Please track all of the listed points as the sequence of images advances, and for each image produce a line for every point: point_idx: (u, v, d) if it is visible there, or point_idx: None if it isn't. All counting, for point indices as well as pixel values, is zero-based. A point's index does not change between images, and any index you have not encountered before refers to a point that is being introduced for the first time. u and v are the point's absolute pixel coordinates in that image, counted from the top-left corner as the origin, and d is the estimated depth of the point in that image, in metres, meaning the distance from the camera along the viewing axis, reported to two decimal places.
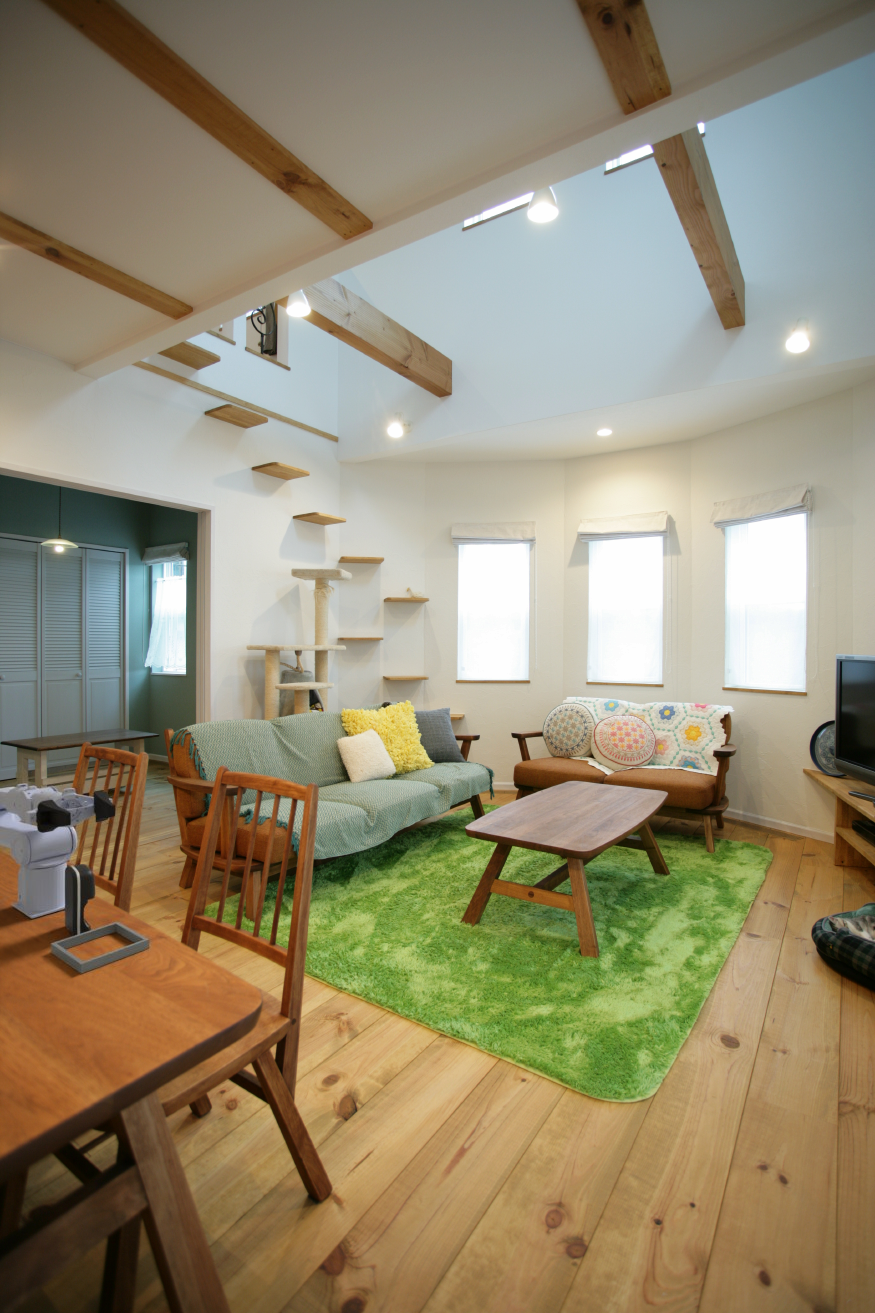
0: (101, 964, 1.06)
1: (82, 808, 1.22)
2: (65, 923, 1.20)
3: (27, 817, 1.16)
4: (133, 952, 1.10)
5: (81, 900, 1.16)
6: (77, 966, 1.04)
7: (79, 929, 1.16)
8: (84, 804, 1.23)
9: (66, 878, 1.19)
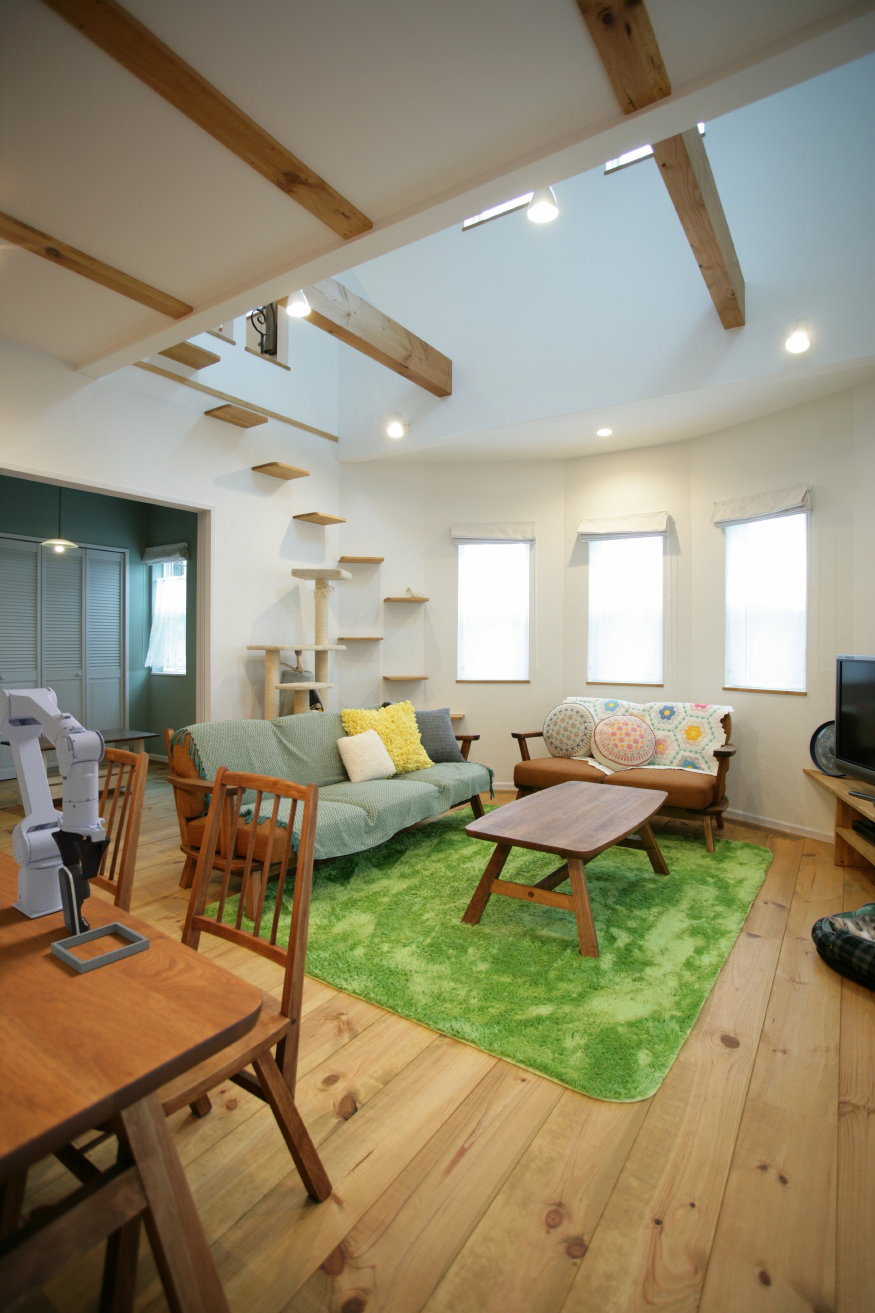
0: (101, 964, 1.06)
1: None
2: None
3: (100, 835, 1.15)
4: (133, 952, 1.10)
5: (76, 900, 1.16)
6: (77, 966, 1.04)
7: (78, 928, 1.16)
8: None
9: (60, 879, 1.18)
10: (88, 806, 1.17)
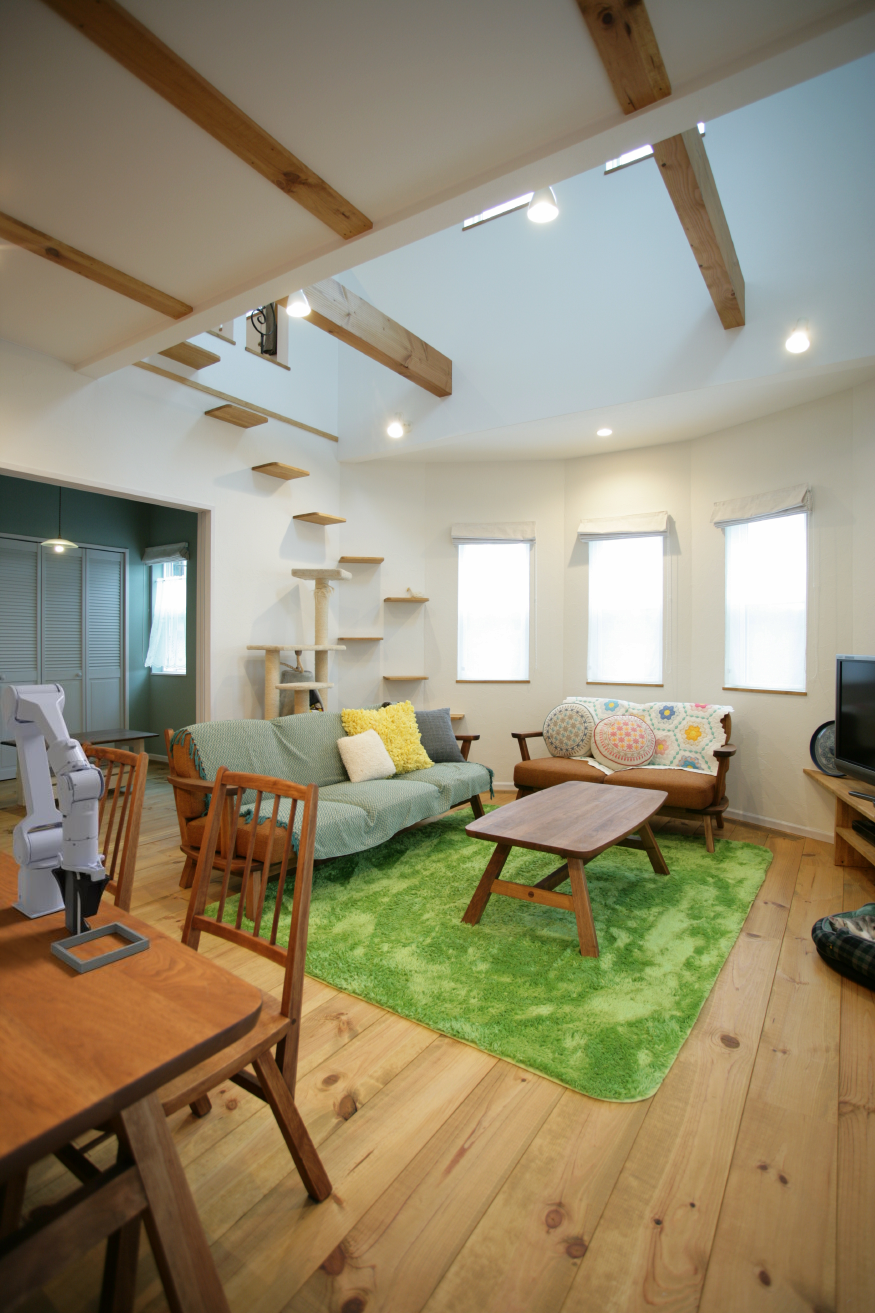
0: (101, 964, 1.06)
1: None
2: (65, 923, 1.20)
3: (100, 874, 1.15)
4: (133, 952, 1.10)
5: None
6: (77, 966, 1.04)
7: (79, 929, 1.16)
8: None
9: (66, 878, 1.19)
10: (88, 844, 1.17)
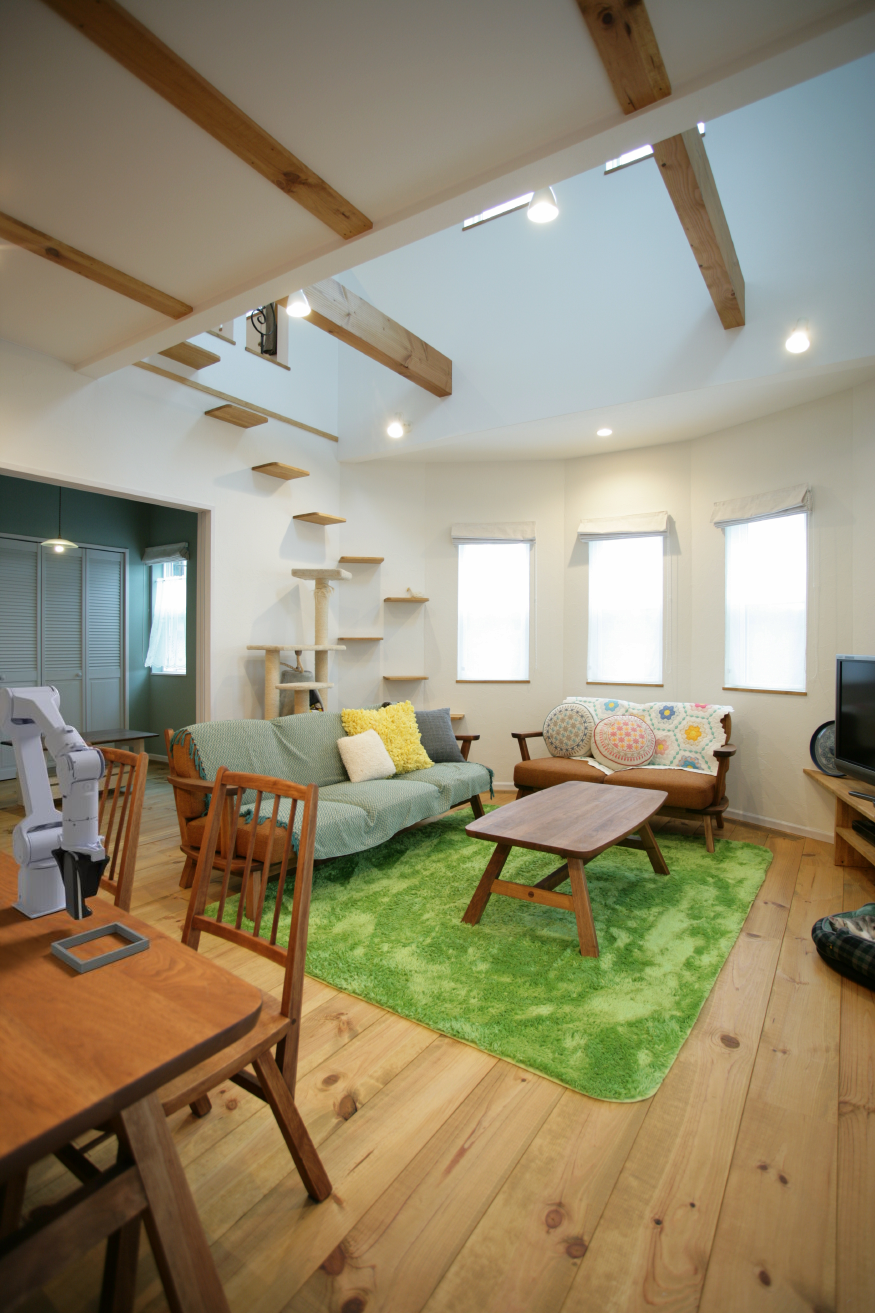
0: (101, 964, 1.06)
1: None
2: (66, 909, 1.20)
3: (100, 854, 1.15)
4: (133, 952, 1.10)
5: None
6: (77, 966, 1.04)
7: (80, 913, 1.16)
8: None
9: (65, 864, 1.19)
10: (88, 825, 1.17)
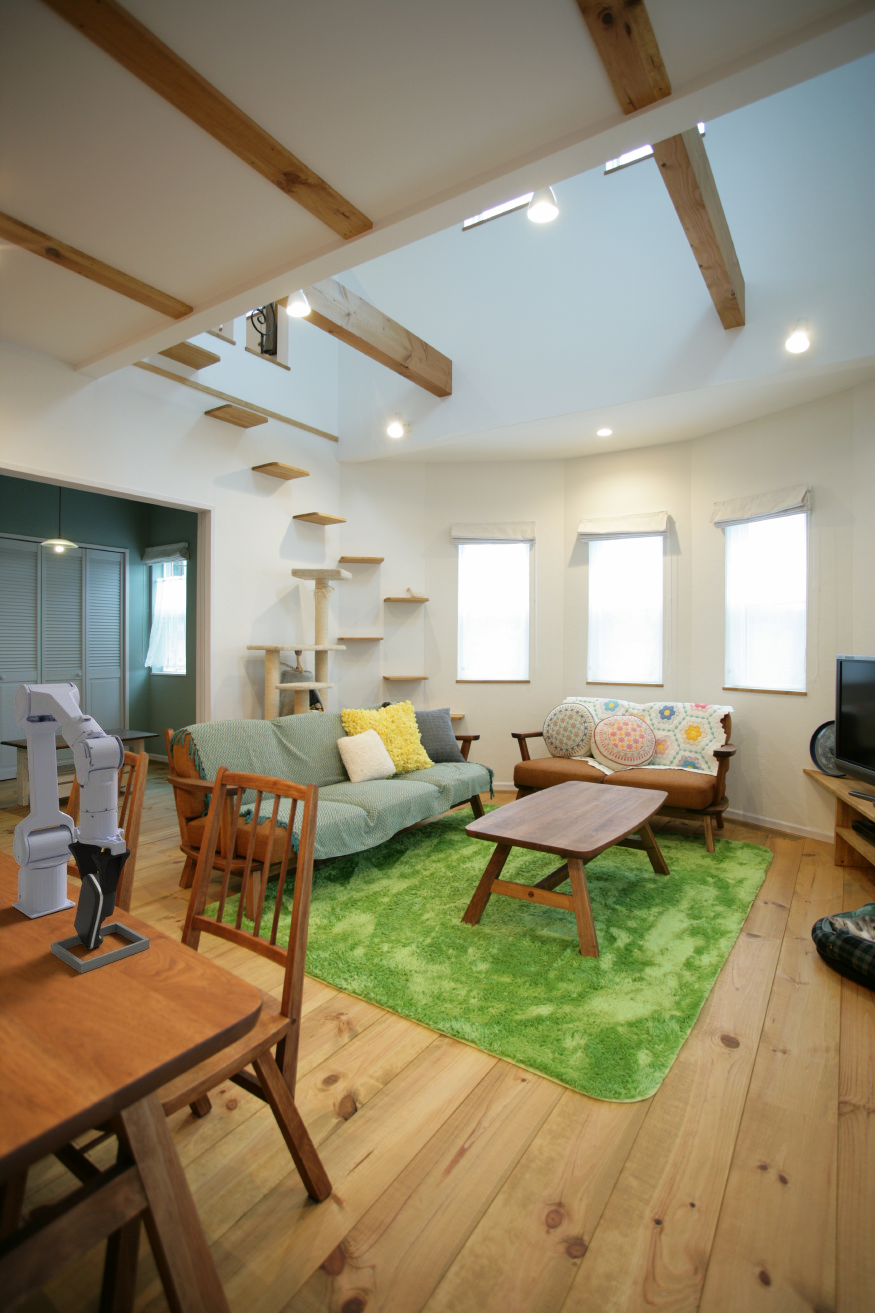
0: (101, 964, 1.06)
1: None
2: (74, 926, 1.14)
3: (120, 848, 1.07)
4: (133, 952, 1.10)
5: (100, 918, 1.10)
6: (77, 966, 1.04)
7: (92, 943, 1.11)
8: None
9: (84, 887, 1.12)
10: (107, 816, 1.10)
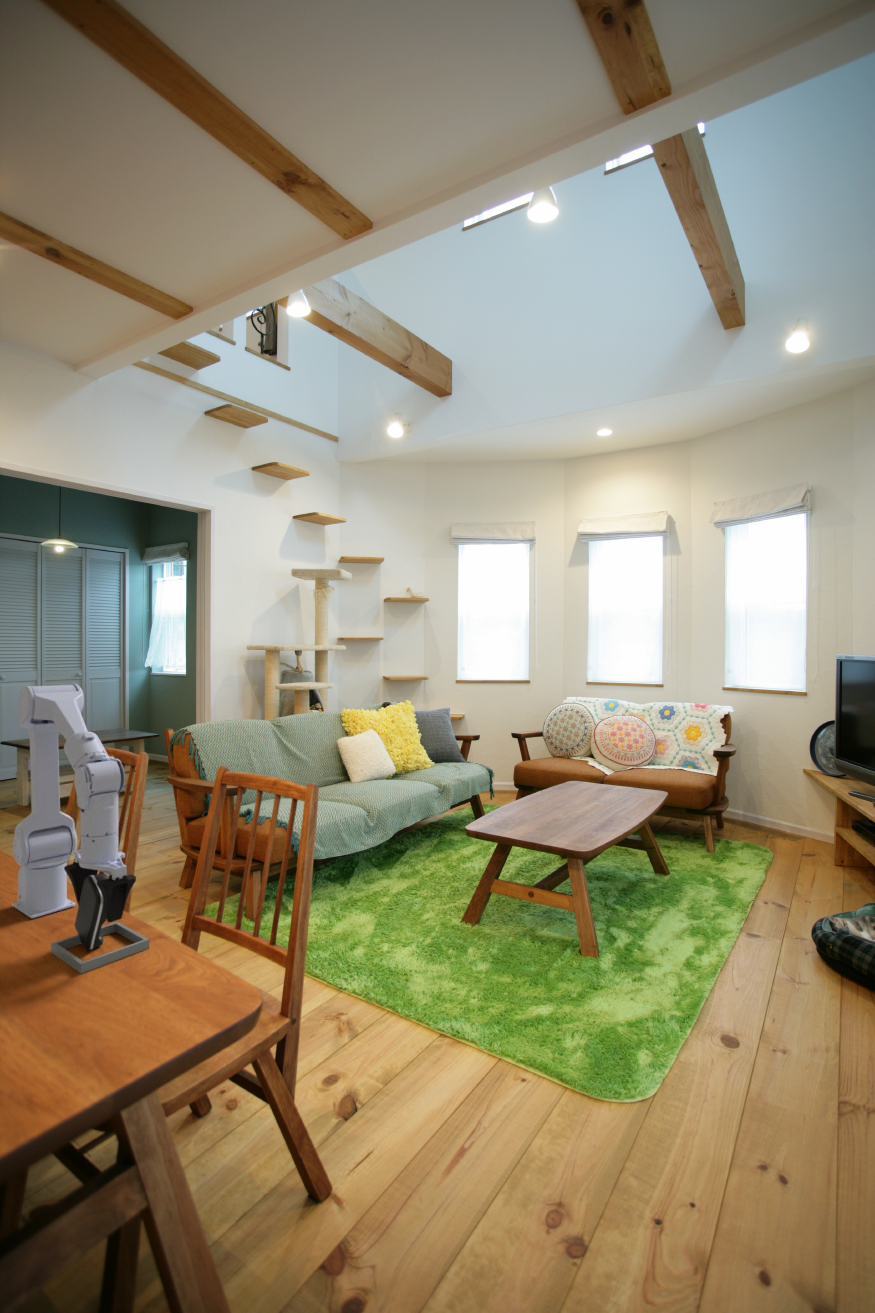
0: (101, 964, 1.06)
1: None
2: (75, 926, 1.14)
3: (121, 873, 1.07)
4: (133, 952, 1.10)
5: (100, 919, 1.10)
6: (77, 966, 1.04)
7: (92, 944, 1.11)
8: None
9: (85, 888, 1.11)
10: (108, 841, 1.09)
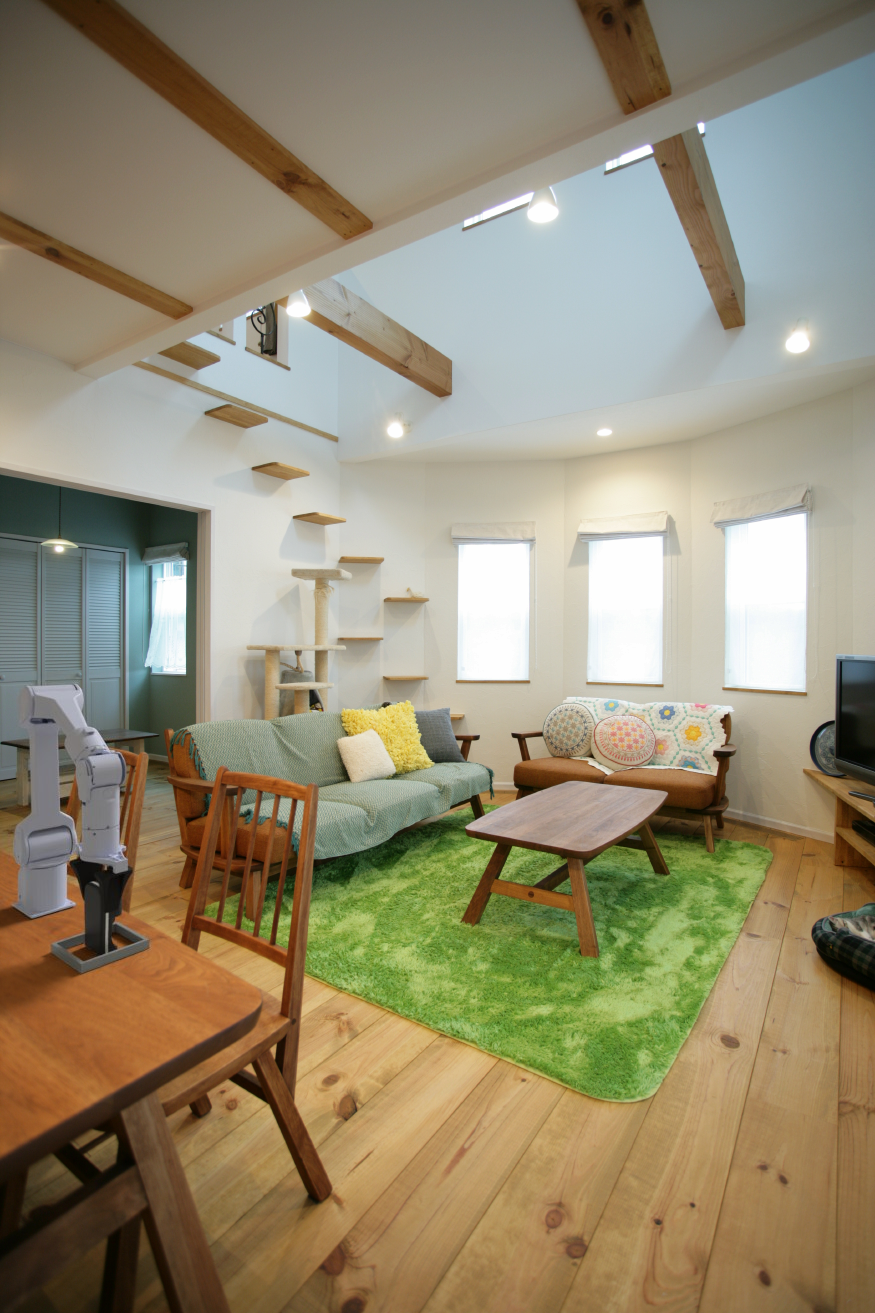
0: (101, 964, 1.06)
1: None
2: (85, 944, 1.12)
3: (122, 866, 1.07)
4: (133, 952, 1.10)
5: (109, 917, 1.09)
6: (77, 966, 1.04)
7: (107, 949, 1.09)
8: None
9: (87, 895, 1.11)
10: (109, 834, 1.09)
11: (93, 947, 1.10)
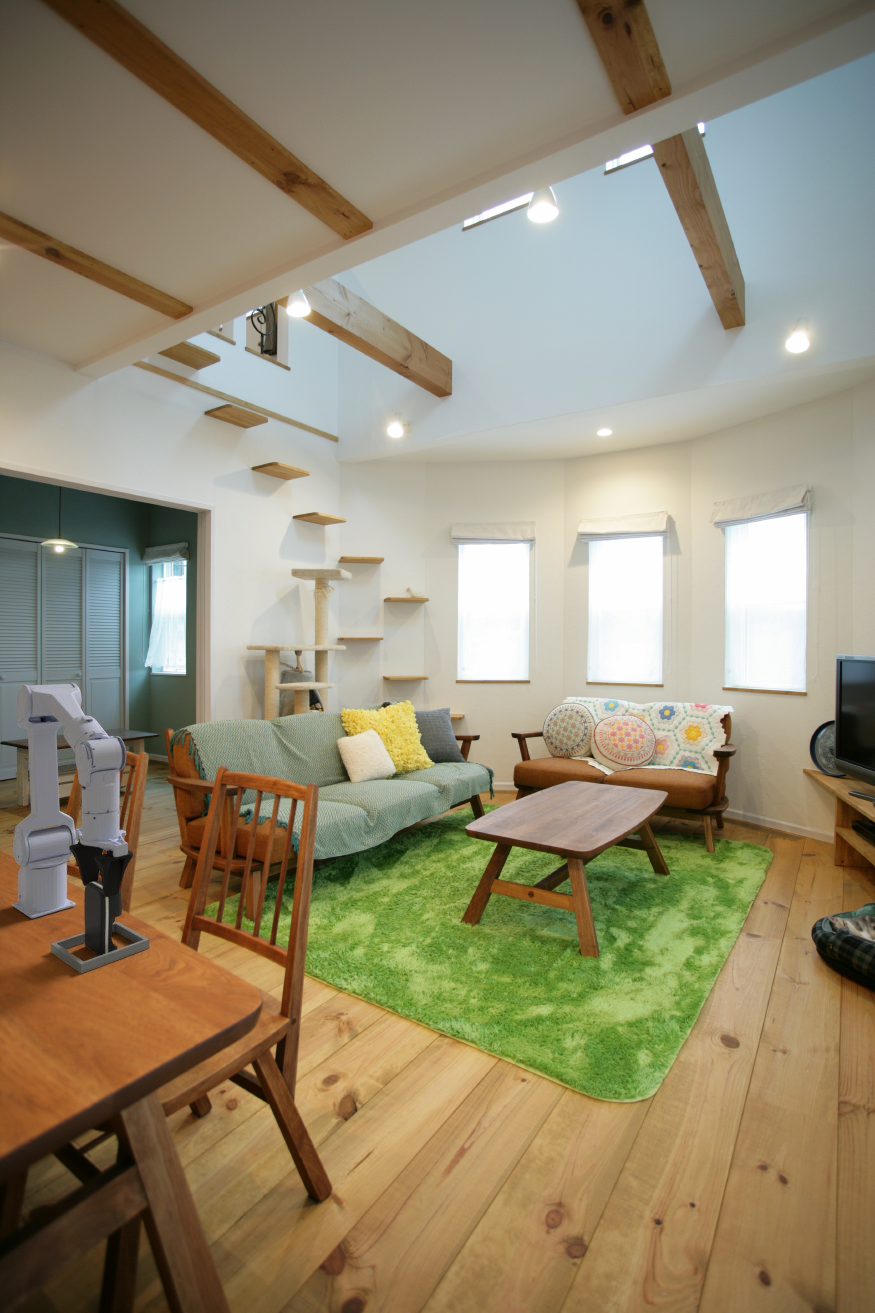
0: (101, 964, 1.06)
1: None
2: (85, 944, 1.12)
3: (122, 850, 1.07)
4: (133, 952, 1.10)
5: (109, 917, 1.09)
6: (77, 966, 1.04)
7: (107, 949, 1.09)
8: None
9: (88, 896, 1.11)
10: (109, 818, 1.09)
11: (93, 947, 1.10)
